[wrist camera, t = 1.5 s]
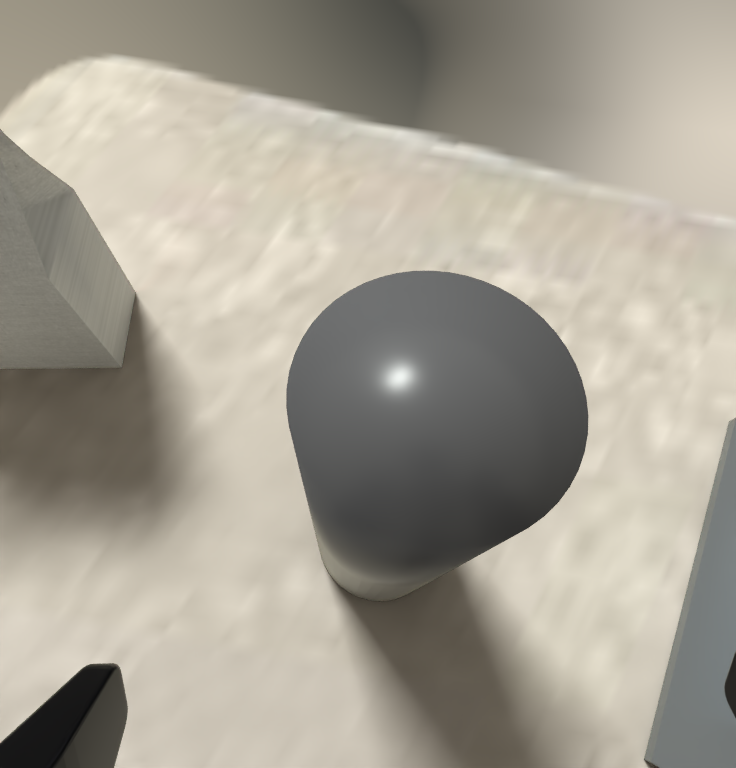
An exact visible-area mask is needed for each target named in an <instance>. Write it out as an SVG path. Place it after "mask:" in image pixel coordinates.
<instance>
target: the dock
mask: <svg viewBox="0 0 736 768" xmlns="http://www.w3.org/2000/svg"><path fill="white" fill-rule="evenodd" d="M735 651H736V418H735V419H733V420H731V421H729V425H728V429H727V433H726V437H725V441H724V445H723V449H722V453H721V457H720V461H719V465H718V469H717V472H716V476H715V480H714V484H713V488H712V492H711V496H710V500H709V504H708V508H707V512H706V516H705V520H704V524H703V528H702V532H701V536H700V540H699V544H698V548H697V552H696V556H695V560H694V564H693V568H692V572H691V576H690V580H689V584H688V588H687V591H686V595H685V599H684V603H683V607H682V611H681V615H680V619H679V623H678V627H677V631H676V635H675V639H674V643H673V647H672V651H671V655H670V659H669V663H668V667H667V671H666V675H665V679H664V683H663V687H662V691H661V695H660V699H659V703H658V707H657V710H656V714H655V718H654V722H653V726H652V730H651V734H650V738H649V742H648V746H647V750H646V754H645V758H644V760H646V761H648V762H650V763H651V764H653V765H655V766H656V767H658V768H736V718H735V716H734V714H733V712H732V711H731V709H730V707H729V705H728V702H727V699H726V696H725V691H724V684H725V680H726V677H727V674H728V671H729V668H730V665H731V662H732V660H733V657H734V654H735Z"/></svg>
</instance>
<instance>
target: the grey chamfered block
mask: <svg viewBox="0 0 736 768" xmlns="http://www.w3.org/2000/svg"><path fill="white" fill-rule="evenodd" d="M135 294H136V292H135V290H134V289H133V287H132V285H131V284H130V282H129V280H128V279H127V277H126V275H125V274H124V272H123V270H122V269H121V267H120V265H119V264H118V262H117V260H116V259H115V257H114V255H113V254H112V252H111V251H110V249H109V247H108V246H107V244H106V242H105V241H104V239H103V237H102V236H101V234H100V232H99V231H98V229H97V227H96V226H95V224H94V222H93V221H92V219H91V217H90V216H89V214H88V212H87V211H86V209H85V207H84V206H83V204H82V202H81V201H80V199H79V197H78V196H77V194H76V192H75V191H74V189H73V188H71V187H70V186H69V185H67V184H66V183H65V182H63V181H62V180H61V179H59V178H58V177H57V176H55V175H54V174H53V173H51V172H50V171H48V170H47V169H46V168H44V167H43V166H42V165H40V164H39V163H38V162H36V161H35V160H34V159H32V158H31V157H30V156H28V155H27V154H26V153H25V152H24V151H23V150H22V149H21V148H20V147H18V146H17V145H16V144H15V143H14V142H13V141H12V140H11V139H10V138H8V137H7V136H6V135H5V134H4V133H3V132H2V130H1V129H0V369H56V368H122V364H123V359H124V353H125V348H126V342H127V337H128V332H129V326H130V321H131V315H132V310H133V304H134V299H135Z"/></svg>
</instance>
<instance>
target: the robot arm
mask: <svg viewBox="0 0 736 768" xmlns="http://www.w3.org/2000/svg"><path fill="white" fill-rule="evenodd" d="M724 691H725V696H726V699H727V702H728V705H729V707H730V709H731V711H732V712H733V714H734V716H735V718H736V651H735V654H734V657H733V660H732V662H731V665H730V668H729V671H728V674H727V677H726V680H725V684H724ZM127 713H128V706H127V700H126V694H125V689H124V684H123V679H122V674H121V670H120V667H119V666H118V665H117V664H114V663H108V664H90V665H87V666H86V667H84V668H82V669H81V670H80V671H79V672H78V673H77V674H76V675H74V676H73V677H72V678H71V679H70V680H69V681H68V682H67V683H66V684H65V685H63V686H62V687H61V688H60V689H59V690H58V691H57V692H56V693H55V694H54V695H52V696H51V697H50V698H49V699H48V700H47V701H46V702H45V703H44V704H43V705H42V706H40V707H39V708H38V709H37V710H36V711H35V712H34V713H33V714H32V715H31V716H29V717H28V718H27V719H26V720H25V721H24V722H23V723H22V724H21V725H20V726H18V727H17V728H16V729H15V730H14V731H13V732H12V733H11V734H10V735H9V736H7V737H6V738H5V739H4V740H3V741H2V742H1V743H0V768H114V766H115V762H116V758H117V755H118V751H119V747H120V744H121V740H122V736H123V733H124V729H125V725H126V720H127Z"/></svg>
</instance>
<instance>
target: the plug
mask: <svg viewBox="0 0 736 768" xmlns="http://www.w3.org/2000/svg"><path fill="white" fill-rule="evenodd" d="M287 415H288V422H289V428H290V432H291V436H292V440H293V444H294V448H295V452H296V457H297V461H298V465H299V469H300V473H301V477H302V481H303V485H304V489H305V493H306V497H307V501H308V505H309V509H310V514H311V518H312V522H313V526H314V530H315V534H316V538H317V542H318V546H319V550H320V554H321V557H322V560H323V563H324V565H325V567H326V569H327V571H328V572H329V574H330V575H331V576H332V578H333V579H334V580H335V581H336V582H337V583H338V584H339V585H340V586H341V587H342V588H344V589H345V590H346V591H348V592H349V593H351V594H353V595H355V596H357V597H360V598H363V599H367V600H371V601H389V600H394V599H397V598H400V597H403V596H405V595H407V594H409V593H411V592H413V591H415V590H416V589H418V588H420V587H422V586H424V585H425V584H427V583H429V582H431V581H433V580H435V579H436V578H438V577H440V576H442V575H444V574H445V573H447V572H449V571H451V570H453V569H454V568H456V567H458V566H460V565H462V564H464V563H465V562H467V561H469V560H471V559H473V558H474V557H476V556H478V555H480V554H482V553H484V552H485V551H487V550H489V549H491V548H493V547H494V546H496V545H498V544H500V543H502V542H504V541H505V540H507V539H509V538H511V537H513V536H514V535H516V534H518V533H520V532H522V531H524V530H525V529H527V528H529V527H530V526H532V525H533V524H534V523H536V522H537V521H538V520H540V519H541V518H542V517H544V516H545V515H546V514H547V513H548V512H549V511H550V510H551V509H552V508H553V507H554V506H555V505H556V504H557V503H558V502H559V501H560V499H561V498H562V497H563V495H564V494H565V492H566V491H567V490H568V488H569V487H570V485H571V483H572V481H573V480H574V478H575V476H576V474H577V472H578V470H579V467H580V464H581V461H582V458H583V455H584V452H585V447H586V441H587V435H588V409H587V400H586V395H585V391H584V387H583V383H582V379H581V377H580V374H579V372H578V369H577V367H576V364H575V362H574V360H573V358H572V357H571V355H570V353H569V351H568V349H567V347H566V346H565V345H564V343H563V342H562V340H561V339H560V338H559V336H558V335H557V333H556V332H555V331H554V330H553V329H552V328H551V327H550V326H549V324H548V323H547V322H546V321H545V320H544V319H543V318H542V317H541V316H540V315H538V314H537V313H536V312H535V311H534V310H533V309H532V308H531V307H529V306H528V305H526V304H525V303H524V302H522V301H521V300H519V299H518V298H516V297H515V296H513V295H511V294H510V293H508V292H506V291H504V290H502V289H501V288H498V287H496V286H494V285H491V284H489V283H487V282H484V281H482V280H478V279H475V278H472V277H469V276H465V275H460V274H455V273H450V272H440V271H411V272H403V273H396V274H392V275H388V276H383V277H380V278H377V279H374V280H372V281H369V282H366V283H364V284H362V285H360V286H358V287H356V288H354V289H352V290H350V291H348V292H347V293H345V294H344V295H342V296H341V297H339V298H338V299H336V300H335V301H334V302H333V303H332V304H330V305H329V306H328V307H327V308H326V309H325V310H324V311H323V312H322V313H321V314H320V315H319V316H318V317H317V318H316V320H315V321H314V322H313V323H312V324H311V326H310V327H309V329H308V330H307V332H306V333H305V335H304V336H303V338H302V340H301V342H300V344H299V346H298V348H297V350H296V352H295V355H294V358H293V361H292V364H291V368H290V371H289V377H288V384H287Z"/></svg>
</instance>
